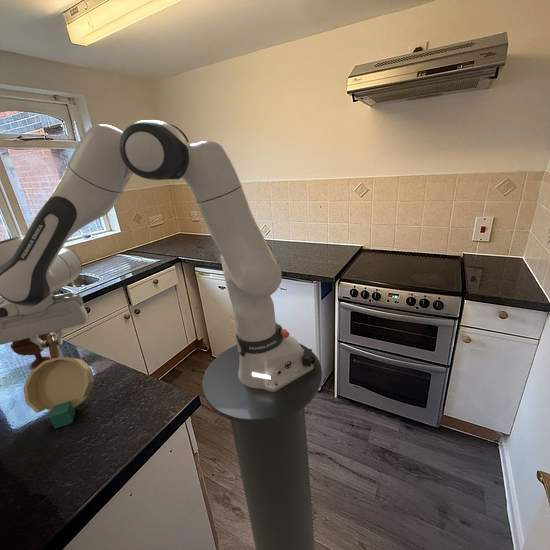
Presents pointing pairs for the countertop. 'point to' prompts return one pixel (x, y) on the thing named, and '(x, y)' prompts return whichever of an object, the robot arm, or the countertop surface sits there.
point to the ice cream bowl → (30, 349)
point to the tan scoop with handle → (58, 381)
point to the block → (62, 414)
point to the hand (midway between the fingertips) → (52, 346)
